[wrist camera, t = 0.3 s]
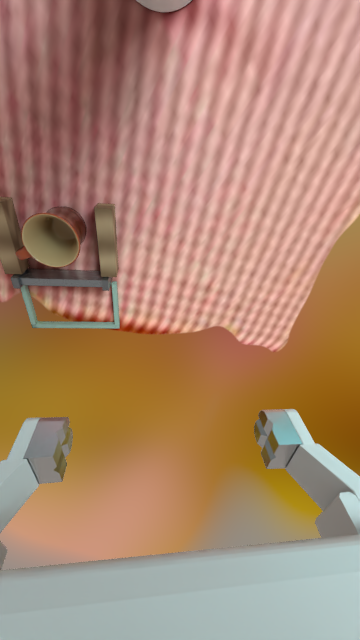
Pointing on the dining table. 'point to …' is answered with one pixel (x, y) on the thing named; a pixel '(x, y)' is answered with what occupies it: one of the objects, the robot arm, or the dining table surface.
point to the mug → (53, 237)
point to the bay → (70, 324)
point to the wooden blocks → (5, 239)
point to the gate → (61, 278)
